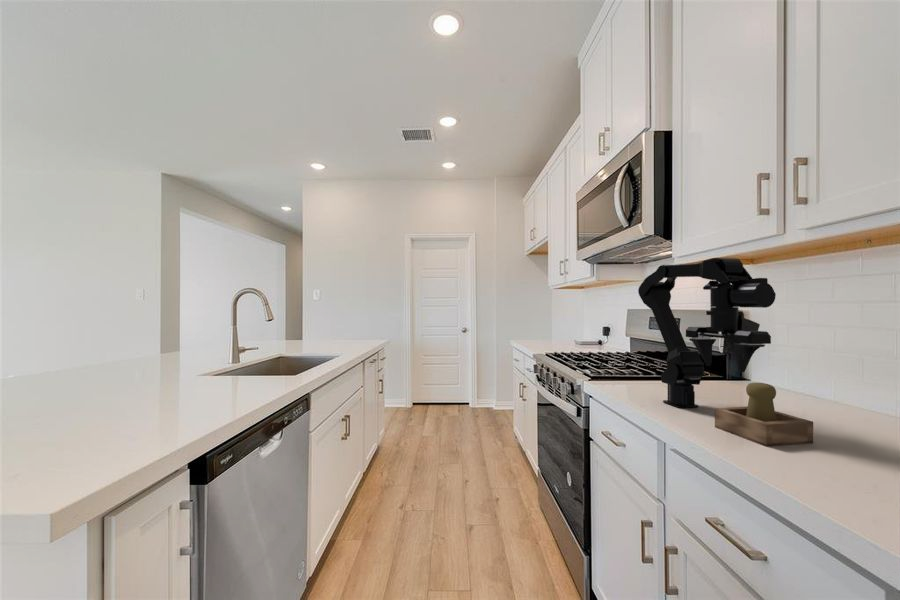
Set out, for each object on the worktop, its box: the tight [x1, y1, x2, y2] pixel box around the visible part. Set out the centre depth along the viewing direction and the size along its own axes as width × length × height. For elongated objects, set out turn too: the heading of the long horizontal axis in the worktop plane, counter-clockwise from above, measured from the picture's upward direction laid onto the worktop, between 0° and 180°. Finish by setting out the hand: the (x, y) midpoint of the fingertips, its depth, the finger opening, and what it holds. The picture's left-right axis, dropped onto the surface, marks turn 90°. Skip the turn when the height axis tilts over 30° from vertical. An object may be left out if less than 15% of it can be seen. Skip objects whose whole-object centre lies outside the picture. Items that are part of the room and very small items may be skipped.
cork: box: [745, 382, 777, 422], centre depth 83 cm, size 6×6×11 cm
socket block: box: [714, 405, 814, 447], centre depth 83 cm, size 12×12×4 cm
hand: (724, 368), depth 93 cm, fingers open, 9 cm apart
